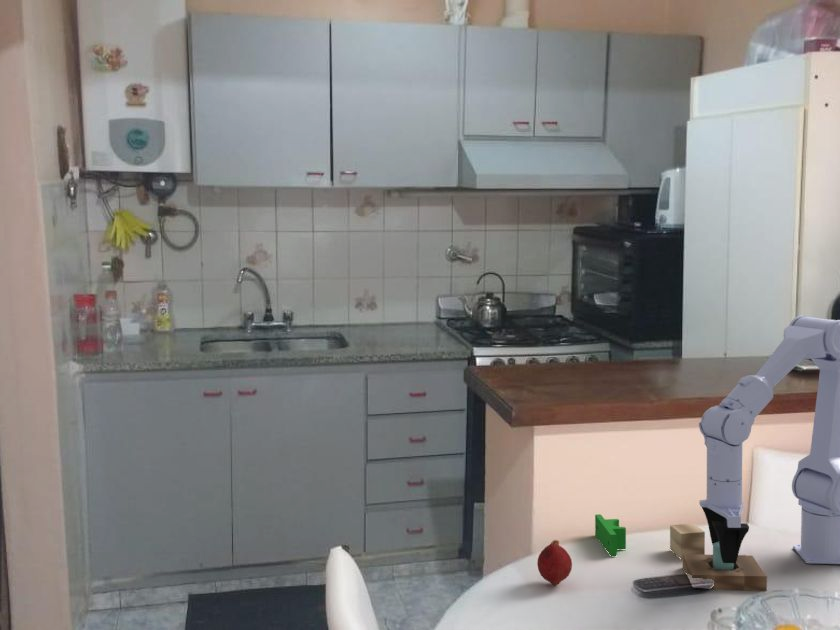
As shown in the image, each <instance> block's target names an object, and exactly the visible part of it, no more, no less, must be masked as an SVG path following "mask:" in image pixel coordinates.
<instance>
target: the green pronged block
mask: <svg viewBox="0 0 840 630" xmlns="http://www.w3.org/2000/svg"><path fill="white" fill-rule="evenodd" d="M594 515H595V516H594V517H595V518H594V521H595V523H594V526H595V527H594V530H595V531H594V533H595V535H594V536H595V538H596V539H597V540H598V539H599V540H600V542H601V543H602V544H603V546H604V547H605V548H606V550H607V551H608V552H609V554H610V555H611V556H616V555H617V556H618V554H617V552H618V551H617V549H626V548H627V547H626V546H627V541H626V539H627V537H626V536H627V534H626V533H627V528H626V526H620V519H619V518H611V519H610V518H608V519H607V518H606V519H605V517H604V516H603V515H602V514H594ZM599 540H598V541H599ZM600 542H599V543H600ZM601 543H600V544H601ZM602 544H601V545H602ZM603 546H602V547H603ZM604 547H603V548H604ZM606 550H605V551H606ZM626 550H627V549H626ZM607 551H606V552H607ZM609 554H608V555H609Z"/></svg>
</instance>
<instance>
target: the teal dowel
mask: <svg viewBox="0 0 840 630" xmlns="http://www.w3.org/2000/svg"><path fill="white" fill-rule="evenodd" d="M712 555H713V568H715V569H718V570H724V571H733V570H734V563H723V561H722V558H721V553H720V546H719V542H715V543H714V544H712Z"/></svg>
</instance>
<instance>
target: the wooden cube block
mask: <svg viewBox="0 0 840 630" xmlns="http://www.w3.org/2000/svg"><path fill="white" fill-rule="evenodd" d="M705 536H706V532H705V531H704V530H703V529H701V528H700V527H699V526H698V525H696V524H695V523H694V522H692V523H681V524H680V523H679V524H670V526H669V538H670V539H669V550H670V549H671V550H672V551H673V552H674V553H675V554H676V555H677V556H678V557H680V558H681V559H683V554H698V555H706V553H705V550H706V549H705V546H706V545H705V544H706V541H705V539H706V537H705ZM674 553H673V554H674ZM675 554H674V555H675ZM676 555H675V556H676ZM677 556H676V557H677ZM678 557H677V558H678Z"/></svg>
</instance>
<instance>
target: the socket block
mask: <svg viewBox="0 0 840 630" xmlns="http://www.w3.org/2000/svg"><path fill="white" fill-rule="evenodd" d="M682 569H684V570H683V572H684V571H685V572H684V573H687V574H690V575H692V578H703V579H708V578H709V579H712V580H713V581H714V586H713V587H712V588H711V589H710V590H716V591H717V590H718V591H720V590H722V591H757V592H758V591H759V592H760V591H761V592H766V591H768V590H767V588H768V587H767V583H768V582H767V581H768V580H767V579H768V576H767V574H766V573H765V571H764V570H763V569H762V567H761V565H760V564H759V563H758V561H757V560H756V558H755V557H754V556H753V555H751V554H750V555H746V554H745V555H743V554H742V555H741V554H738V558H737V561H736V563H734V570H733V571H724V570H718V569H715V568H713V554H705V555H698V554H683V560H682Z"/></svg>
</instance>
